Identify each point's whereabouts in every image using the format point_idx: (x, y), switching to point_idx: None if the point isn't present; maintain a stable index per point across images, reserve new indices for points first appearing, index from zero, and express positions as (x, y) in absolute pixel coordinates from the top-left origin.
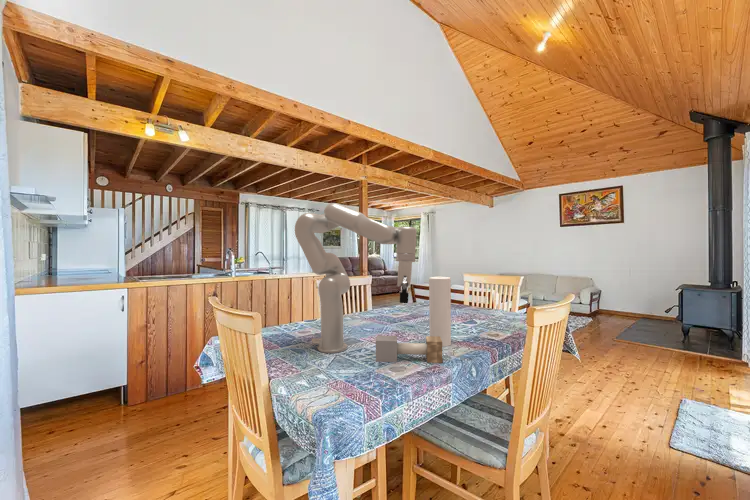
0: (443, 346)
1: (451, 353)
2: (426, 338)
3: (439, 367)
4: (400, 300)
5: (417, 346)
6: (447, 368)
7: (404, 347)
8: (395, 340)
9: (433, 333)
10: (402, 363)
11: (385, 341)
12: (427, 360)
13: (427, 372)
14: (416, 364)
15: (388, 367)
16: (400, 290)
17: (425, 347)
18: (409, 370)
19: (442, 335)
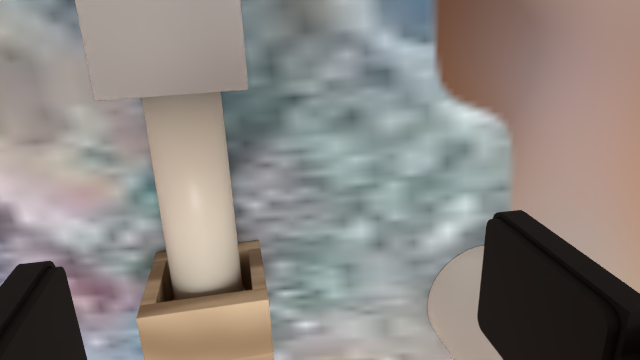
0: (428, 315)
1: (321, 354)
2: (223, 304)
3: (98, 312)
4: (9, 295)
5: (170, 232)
6: (94, 347)
7: (151, 145)
8: (108, 89)
9: (477, 303)
10: (112, 118)
11: (76, 1)
12: (158, 257)
13: (5, 260)
14: (115, 198)
15: (18, 37)
16: (597, 286)
17: (173, 278)
18: (6, 167)
19: (454, 348)
